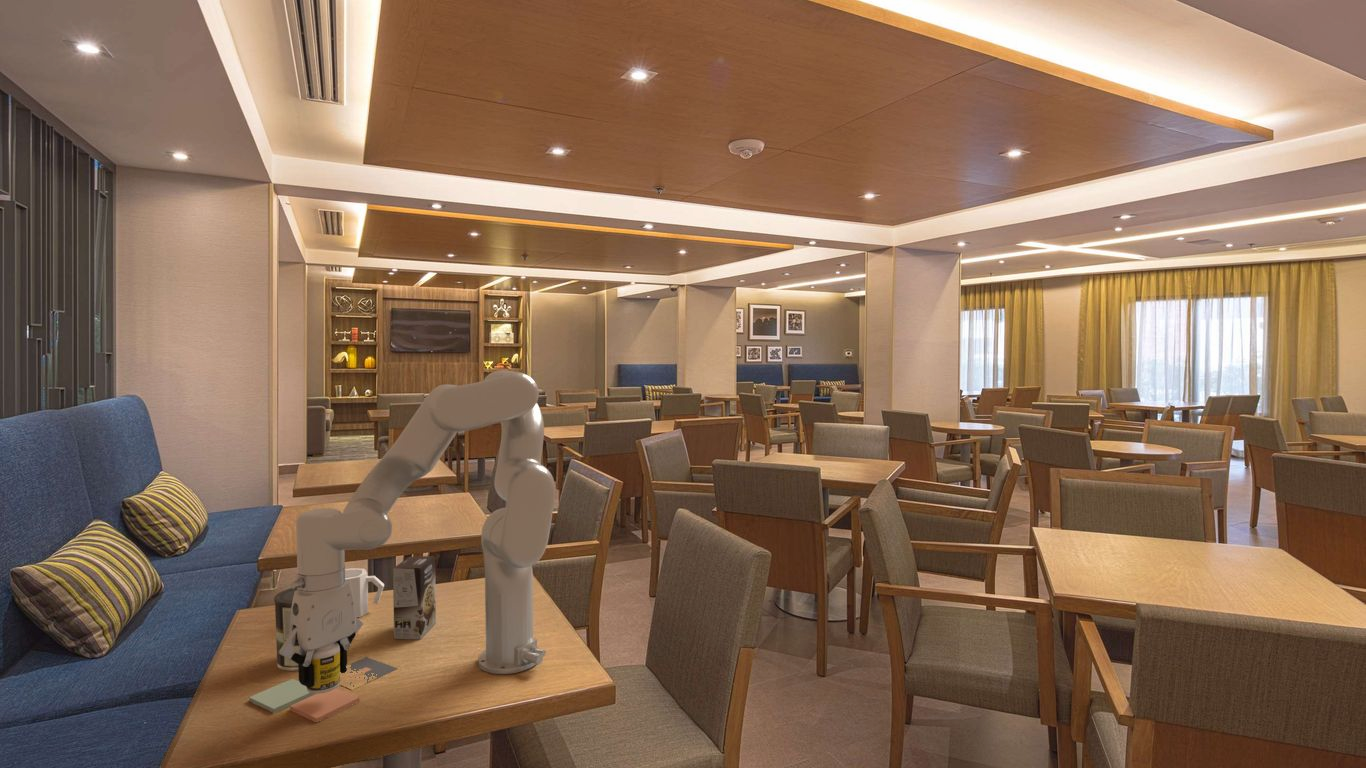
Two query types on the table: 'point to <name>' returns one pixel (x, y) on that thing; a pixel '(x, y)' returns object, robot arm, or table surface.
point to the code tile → (371, 668)
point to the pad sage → (281, 696)
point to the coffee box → (414, 597)
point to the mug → (362, 589)
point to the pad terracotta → (324, 704)
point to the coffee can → (284, 627)
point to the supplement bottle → (326, 668)
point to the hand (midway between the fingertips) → (323, 677)
